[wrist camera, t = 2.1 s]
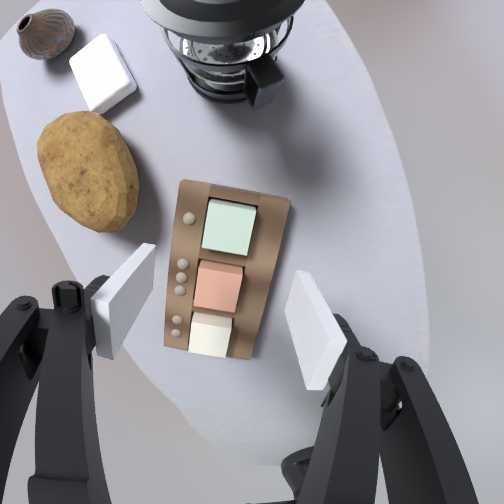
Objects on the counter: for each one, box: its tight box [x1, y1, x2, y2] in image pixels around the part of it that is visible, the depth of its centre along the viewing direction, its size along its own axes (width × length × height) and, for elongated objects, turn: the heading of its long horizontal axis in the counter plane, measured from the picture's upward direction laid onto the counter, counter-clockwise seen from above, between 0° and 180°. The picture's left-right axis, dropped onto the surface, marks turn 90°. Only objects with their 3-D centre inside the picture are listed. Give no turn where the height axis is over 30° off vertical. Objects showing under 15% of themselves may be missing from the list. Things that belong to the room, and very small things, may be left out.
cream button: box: [188, 312, 232, 358], centre depth 31 cm, size 4×4×3 cm
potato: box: [37, 111, 140, 232], centre depth 23 cm, size 10×14×8 cm
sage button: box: [202, 198, 256, 256], centre depth 27 cm, size 4×4×3 cm
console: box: [164, 179, 291, 360], centre depth 31 cm, size 20×11×3 cm, turn 168°
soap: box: [69, 34, 137, 114], centre depth 22 cm, size 9×6×3 cm, turn 28°
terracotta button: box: [194, 259, 243, 313], centre depth 29 cm, size 4×4×3 cm
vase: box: [17, 9, 75, 60], centre depth 16 cm, size 7×7×9 cm
